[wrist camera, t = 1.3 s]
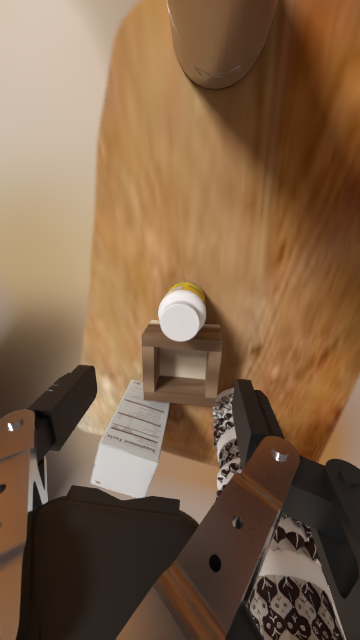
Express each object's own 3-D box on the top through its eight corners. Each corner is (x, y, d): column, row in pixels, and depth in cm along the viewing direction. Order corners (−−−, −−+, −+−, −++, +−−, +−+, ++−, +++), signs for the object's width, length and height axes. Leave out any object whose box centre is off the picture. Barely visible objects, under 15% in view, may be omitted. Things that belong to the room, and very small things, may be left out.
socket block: (151, 320, 32) (141, 335, 26) (219, 324, 31) (223, 341, 26) (152, 376, 35) (143, 400, 30) (213, 382, 34) (215, 407, 29)
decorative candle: (214, 380, 34) (241, 679, 11) (272, 390, 34) (430, 723, 10) (205, 423, 37) (210, 725, 14) (258, 432, 37) (354, 760, 14)
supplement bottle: (212, 307, 30) (216, 335, 21) (178, 323, 31) (168, 356, 22) (194, 272, 29) (191, 287, 20) (160, 290, 30) (141, 312, 21)
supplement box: (161, 422, 38) (143, 502, 27) (122, 409, 38) (87, 484, 26) (174, 390, 36) (159, 464, 24) (131, 377, 36) (96, 444, 24)
